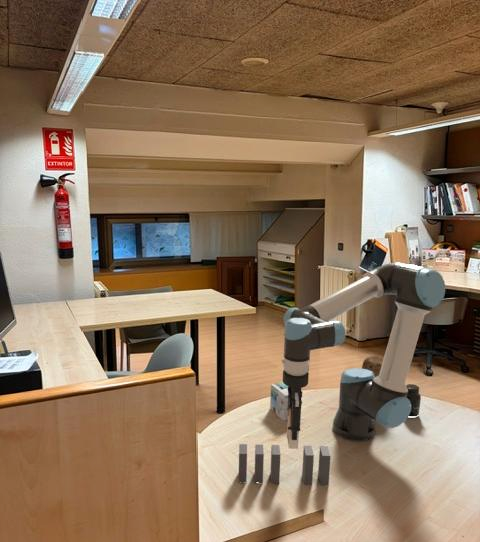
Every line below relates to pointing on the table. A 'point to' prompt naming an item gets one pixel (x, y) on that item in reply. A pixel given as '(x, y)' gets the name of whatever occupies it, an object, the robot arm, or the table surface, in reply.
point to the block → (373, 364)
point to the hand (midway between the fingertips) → (292, 442)
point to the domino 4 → (289, 424)
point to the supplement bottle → (413, 399)
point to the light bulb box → (279, 400)
